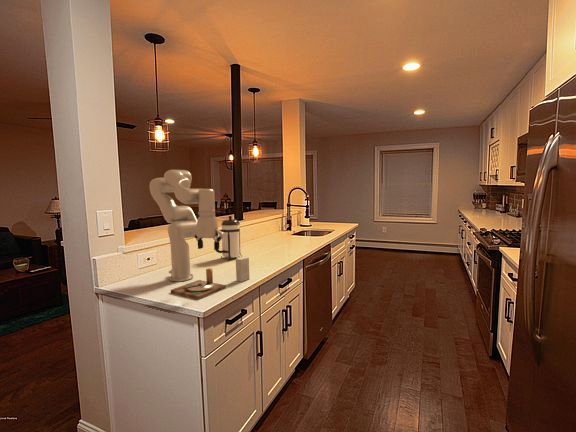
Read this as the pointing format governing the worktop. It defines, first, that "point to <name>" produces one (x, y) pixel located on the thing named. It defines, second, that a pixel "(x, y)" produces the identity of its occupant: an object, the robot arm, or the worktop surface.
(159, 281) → the worktop surface
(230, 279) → the worktop surface
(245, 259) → the skincare box
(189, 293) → the dial plate
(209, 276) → the dial
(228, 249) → the coffee press
